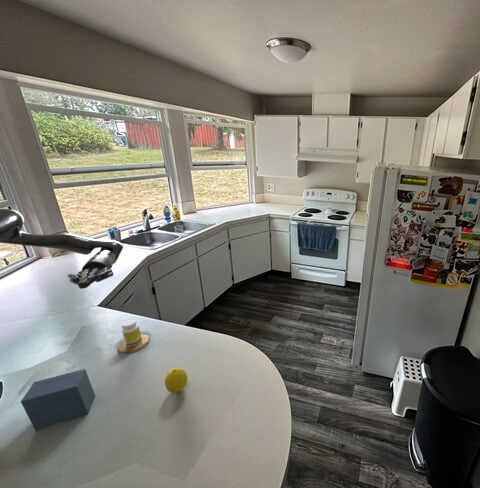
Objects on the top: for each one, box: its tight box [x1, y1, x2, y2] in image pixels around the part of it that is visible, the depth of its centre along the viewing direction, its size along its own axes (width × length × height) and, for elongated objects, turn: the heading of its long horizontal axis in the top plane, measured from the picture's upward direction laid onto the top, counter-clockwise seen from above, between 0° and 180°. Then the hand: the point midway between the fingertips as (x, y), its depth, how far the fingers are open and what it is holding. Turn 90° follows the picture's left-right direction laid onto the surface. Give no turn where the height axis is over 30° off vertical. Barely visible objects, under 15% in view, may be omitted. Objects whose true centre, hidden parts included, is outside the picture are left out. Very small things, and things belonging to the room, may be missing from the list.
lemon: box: [164, 367, 188, 394], centre depth 72 cm, size 6×6×8 cm
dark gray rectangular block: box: [20, 368, 96, 432], centre depth 65 cm, size 10×6×10 cm, turn 117°
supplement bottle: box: [121, 318, 142, 346], centre depth 89 cm, size 5×5×8 cm
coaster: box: [117, 333, 150, 354], centre depth 90 cm, size 9×9×1 cm
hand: (82, 286), depth 83 cm, fingers closed
